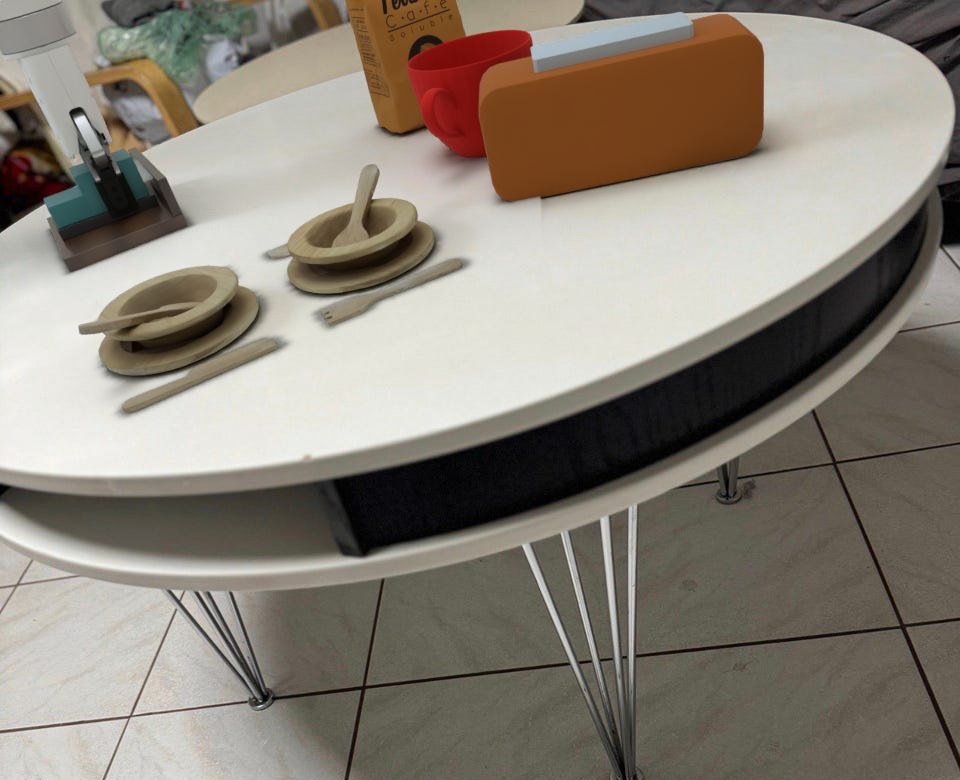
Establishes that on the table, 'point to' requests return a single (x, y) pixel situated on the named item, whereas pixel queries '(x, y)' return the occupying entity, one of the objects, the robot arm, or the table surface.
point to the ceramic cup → (461, 84)
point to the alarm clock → (622, 105)
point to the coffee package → (399, 50)
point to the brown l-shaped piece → (125, 223)
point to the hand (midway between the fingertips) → (120, 205)
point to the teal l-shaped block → (94, 199)
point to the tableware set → (232, 308)
